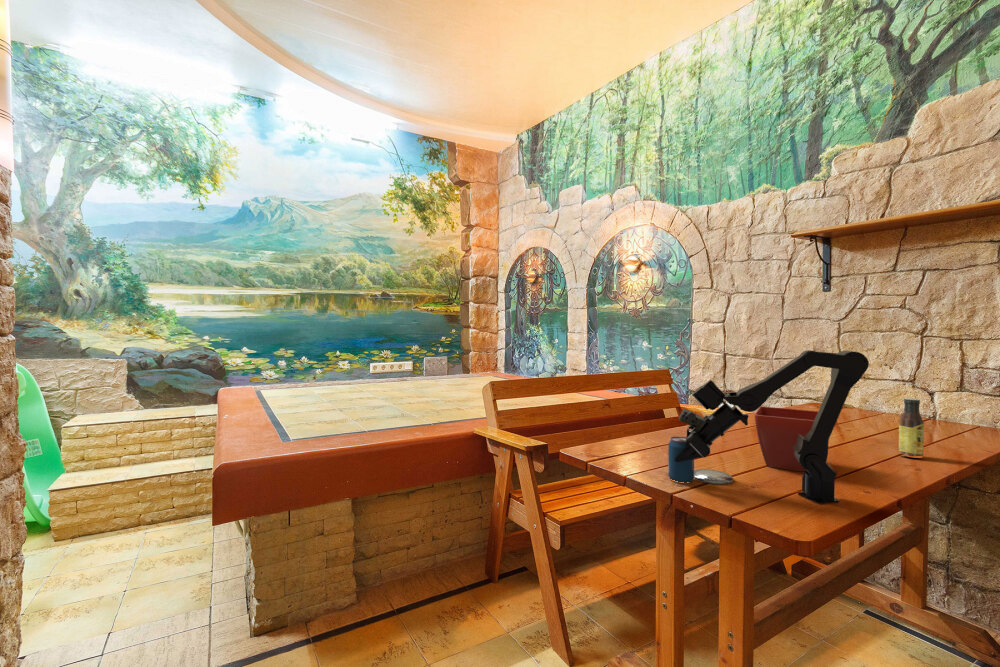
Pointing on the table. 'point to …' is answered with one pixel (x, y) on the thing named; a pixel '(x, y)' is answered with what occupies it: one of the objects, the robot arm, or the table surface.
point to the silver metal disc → (713, 476)
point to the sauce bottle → (911, 429)
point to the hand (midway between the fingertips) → (676, 456)
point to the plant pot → (782, 434)
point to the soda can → (679, 469)
